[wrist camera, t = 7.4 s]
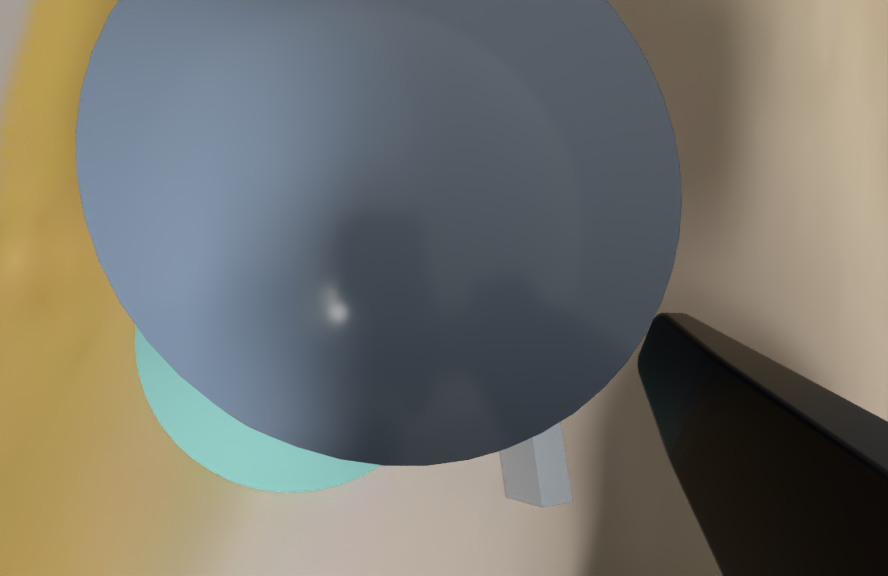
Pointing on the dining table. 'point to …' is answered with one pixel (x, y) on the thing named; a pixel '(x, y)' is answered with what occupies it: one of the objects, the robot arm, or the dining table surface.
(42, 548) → the dining table surface
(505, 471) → the acrylic wall
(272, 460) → the coaster
